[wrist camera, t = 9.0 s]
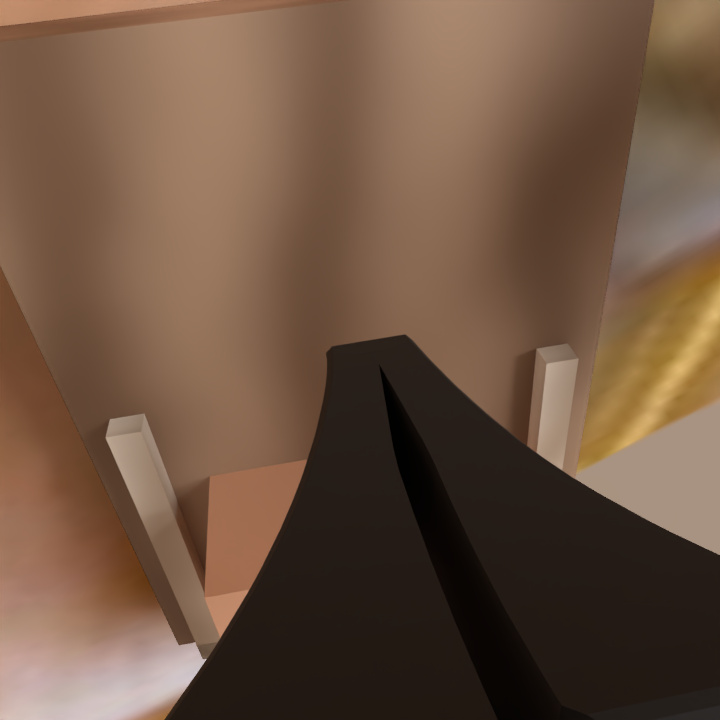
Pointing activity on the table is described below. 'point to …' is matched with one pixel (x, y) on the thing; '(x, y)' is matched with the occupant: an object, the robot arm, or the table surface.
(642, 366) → the table surface
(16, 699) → the table surface
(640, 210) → the table surface
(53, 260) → the brown piece
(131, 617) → the table surface
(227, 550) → the terracotta carton
